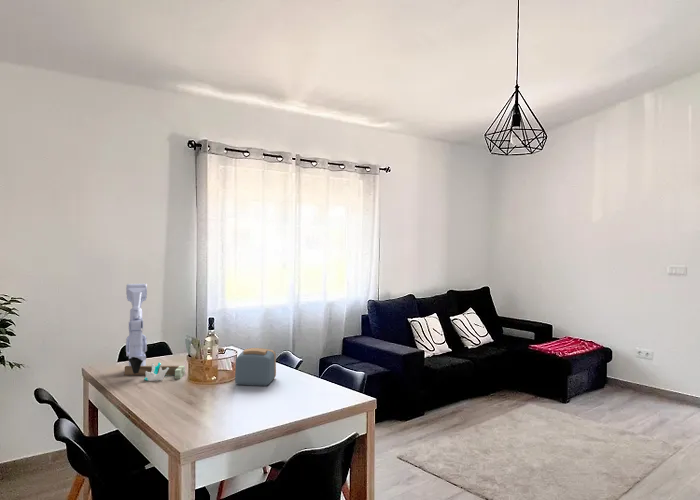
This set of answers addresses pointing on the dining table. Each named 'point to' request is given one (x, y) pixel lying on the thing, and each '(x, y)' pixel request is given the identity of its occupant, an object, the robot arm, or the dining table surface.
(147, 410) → the dining table surface
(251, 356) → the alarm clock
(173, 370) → the cleat board
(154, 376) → the jawbone
